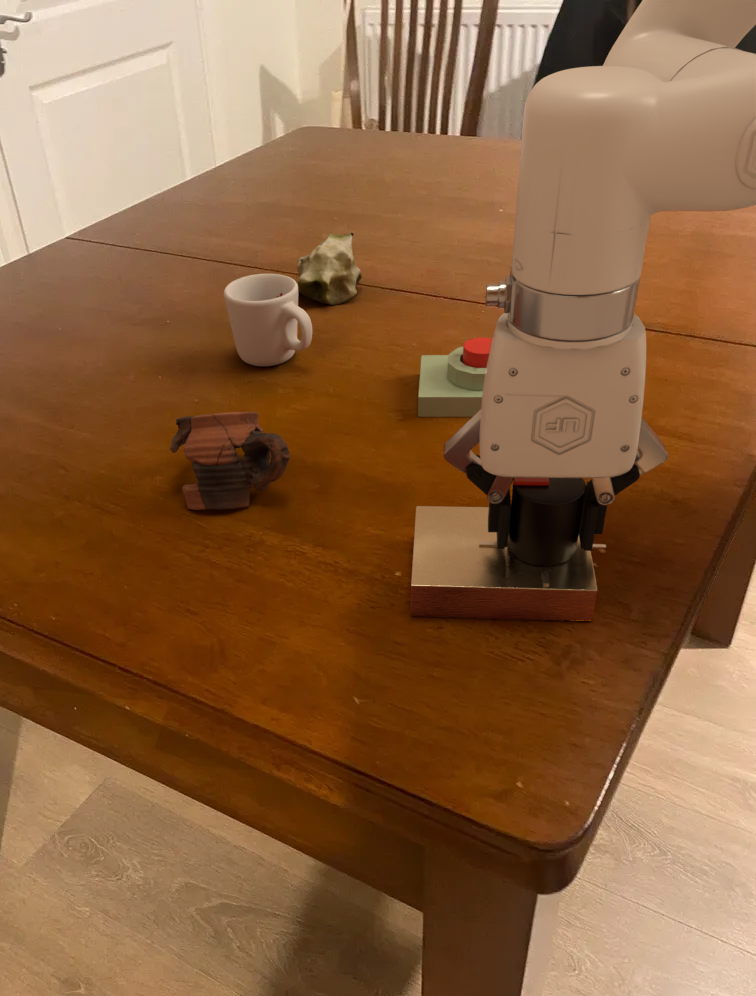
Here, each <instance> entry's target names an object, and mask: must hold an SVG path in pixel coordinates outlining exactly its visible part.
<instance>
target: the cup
mask: <svg viewBox="0 0 756 996" xmlns="http://www.w3.org/2000/svg"><path fill="white" fill-rule="evenodd" d="M297 283H298V282H297V281H296V280H295V279H294V278H292V277H291V276H287V275H284V274H280V273H256V274H250V275H246V276H241V277H240V278H237V279H234V280H232V281H231V282H230V283H228V284H227V285H226V286H225V288H224V290H223V298H224V303H225V307H226V311H227V315H228V319H229V323H230V328H231V332H232V337H233V341H234V345H235V348H236V351H237V354H238V356H239V358H240V359H241V360H242V361H243V362H244V363H246V364H248V365H251V366H254V367H272V366H273V367H274V366H277V365H280V364H283V363H285V362H288V360H290V359H291V358H292V357H293V356H294V355H295V353H296V352H302V351H305V350H306V349H308V348H309V347H310V346H311V343H312V339H313V323H312V321H311V317H310V315H309V314H308V313H307V311H305V310H304V309H303V308H301V307H300V306H299V291H298V284H297ZM298 325H299V327H300V335H301V336H300V339H298V338H299V337H298Z"/></svg>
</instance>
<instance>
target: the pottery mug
mask: <svg viewBox="0 0 756 996" xmlns="http://www.w3.org/2000/svg"><path fill="white" fill-rule="evenodd" d="M175 425H176V426H177V432H176V433H175V434H174V435H173V437H172V440H171V444H170V447H169V451H170V452H171V453H173V454H175V453H177V452H178V450H179V448H181V446H183V445H184V447H183V453H184V456H185V458H186V459H187V460H188V461H190V462H192V463H191V465H192V468H193V472H194V475H195V478H196V482H195V483H190V484H184V485H182V487H181V488H182V494H183V497H184V500H185V503H186V507H187V509H188V510H192V511H201V510H204V511H205V510H210V511H211V510H216V511H224V510H225V511H226V510H236V509H243V508H248V507H250V503H251V501H250V500H251V499H250V496H251V489H252V487H253V488H254V489H255V490H256V491H257V492H258V491H259V492H261V493H262V492H264V491H265V490H267V488H268V487H269V485H270V483H274V482H276V481H277V480H279V479H280V478H281V477H282V476H283V474H284V473H285V472H286V469H287V467H288V464H289V461H290V456H291V455H290V450H289V446H288V444H287V443H286V441H285V440H284V439H283V438H282V437H281V436H280V435H279V434H277V433H273V432H264V429H263V427H261V426H260V425H259V412H255V411H245V410H244V411H243V410H242V411H229V412H228V411H227V412H215V413H206V414H197V415H187V416H181V417H178V418H176V419H175ZM240 448H241V449H242V452H243V454H244V455H243V456H242V457H239V456H238V453H237V451H236V449H240Z"/></svg>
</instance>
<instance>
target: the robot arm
mask: <svg viewBox="0 0 756 996" xmlns="http://www.w3.org/2000/svg"><path fill="white" fill-rule="evenodd" d="M755 26H756V0H641V2H640V3H639V4H638V6H637V7H636V9H635V11H634V12H633V14H632V15H631V17H630V18H629V20H628V21H627V23H626V24H625V26H624V28H623V29H622V30H621V32H620V34H619V35H618V37H617V39H616V41H614V44H613V45H612V47H611V49H610V50H609V51H608V55H607V56H606V58H605V59H604V60H605V61H603V62H604V63H603V64H602V65H596V66H595V65H592V66H579V67H572V68H566V69H563V70H560V71H556V72H553V73H551V74H548V75H547V76H545V77H542V78H541V79H540V80H539V81H537V82H536V83H535V85H534V86H533V87H532V88H531V90H530V91H529V92H528V95H527V97H526V100H525V104H524V109H523V116H522V125H521V136H520V137H521V139H520V151H519V163H518V164H519V165H518V177H517V178H518V179H517V193H516V205H515V217H514V231H513V245H512V257H511V266H510V270H509V271H510V272H509V275H505V280H499V281H498V283H486V287H485V307H497V309H503V313H501V315H500V316H499V317H498V319H497V322H496V325H495V329H494V332H493V335H492V338H491V339H492V342H491V347H490V353H489V357H488V362H487V367H486V372H485V379H484V386H483V394H482V402H481V409H480V410H479V411H478V412H477V413H476V414H475V415H474V416H473V417H470V419H468V421H467V422H465V423H464V424H463V425H462V426H461V427H460V428H459V429H458V430H457V431H456V432H455V433H454V434H453V435H452V436H451V437H450V438H449V439H448V440H447V441H446V442H445V443H444V444H443V459H444V460H445V461H446V462H447V463H448V464H450V465H452V466H453V467H454V468H455V469H457V470H458V471H459V472H460V473H463V474H464V475H466V478H467V479H468V480H469V481H470V482H471V483H472V484H473V485H474V486H476V487H477V488H478V489H479V490H480V491H481V492H482V493H484V494H485V495H486V499H487V501H488V507H489V512H488V532H497V549H505V547H507V546H508V536H509V525H510V514H511V501H512V497H511V486H512V485H513V481H514V478H515V477H525V478H583V479H591V480H589V481H586V483H585V484H586V490H585V497H584V503H583V510H582V516H581V523H580V529H579V538H580V545H581V549H584V551H591V552H592V551H593V548H592V546H593V544H594V539H595V535H603V533H604V526H605V522H606V515H607V509H608V506H609V505H611V504H613V502H614V501H615V499H616V497H615V496H617V495H619V494H620V493H621V492H623V491H624V490H626V489H627V488H628V487H630V486H631V485H633V484H634V483H636V482H637V481H638V480H639V478H640V477H641V476H642V475H643V474H647V473H649V472H650V471H652V470H655V468H657V467H658V466H660V465H662V464H664V463H666V462H667V460H668V458H669V454H668V451H667V448H666V445H665V443H664V442H663V440H662V439H661V438H660V436H658V435H657V433H656V432H655V431H654V430H653V428H652V427H651V426H650V424H649V423H648V422H647V421H646V420H645V418H644V417H643V408H644V401H645V399H644V398H645V387H646V372H647V333H646V332H647V331H646V326H645V325H644V323H643V322H642V320H641V318H640V317H639V316H638V315H637V314H636V313H635V311H636V304H637V299H638V293H639V288H640V281H641V275H642V271H643V265H644V258H645V254H646V253H645V252H646V247H647V241H648V234H649V228H650V223H651V218H652V216H654V215H655V214H656V213H661V212H729V211H735V210H737V211H738V210H742V209H747V208H751V207H753V206H756V53H754V52H749V51H744V50H742V49H740V48H736V47H737V46H738V44H740V42H741V41H742V40H743V39H744V38H745V36H746V35H747V34H749V32H750V31H751V30H752V29H753V28H754V27H755ZM476 445H478V446H479V448H478V449H479V454H475V453H474V451H473V450H472V449H473V448H474V447H475V446H476Z"/></svg>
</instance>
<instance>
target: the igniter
mask: <svg viewBox="0 0 756 996" xmlns="http://www.w3.org/2000/svg"><path fill="white" fill-rule="evenodd" d="M463 346H464V345H463ZM463 346H459V347H457V348H454V350H452V351H451V352H450V353H448V354H427V355H426V354H422V355H420V365H419V367H420V369H419V380H418V381H419V383H418V395H417V417H420V418H422V417H423V418H427V417H428V418H430V417H432V418H433V417H434V418H435V417H436V418H441V417H442V418H447V417H448V418H452V417H453V418H459V417H460V418H472V417H473V416H474V415H475V414H476V413H477V412H478V411H479V410H480V409H481V402H482V394H483V386H484V379H485V372H486V368H474V367H470V366H466V365H465V364H463Z"/></svg>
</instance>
